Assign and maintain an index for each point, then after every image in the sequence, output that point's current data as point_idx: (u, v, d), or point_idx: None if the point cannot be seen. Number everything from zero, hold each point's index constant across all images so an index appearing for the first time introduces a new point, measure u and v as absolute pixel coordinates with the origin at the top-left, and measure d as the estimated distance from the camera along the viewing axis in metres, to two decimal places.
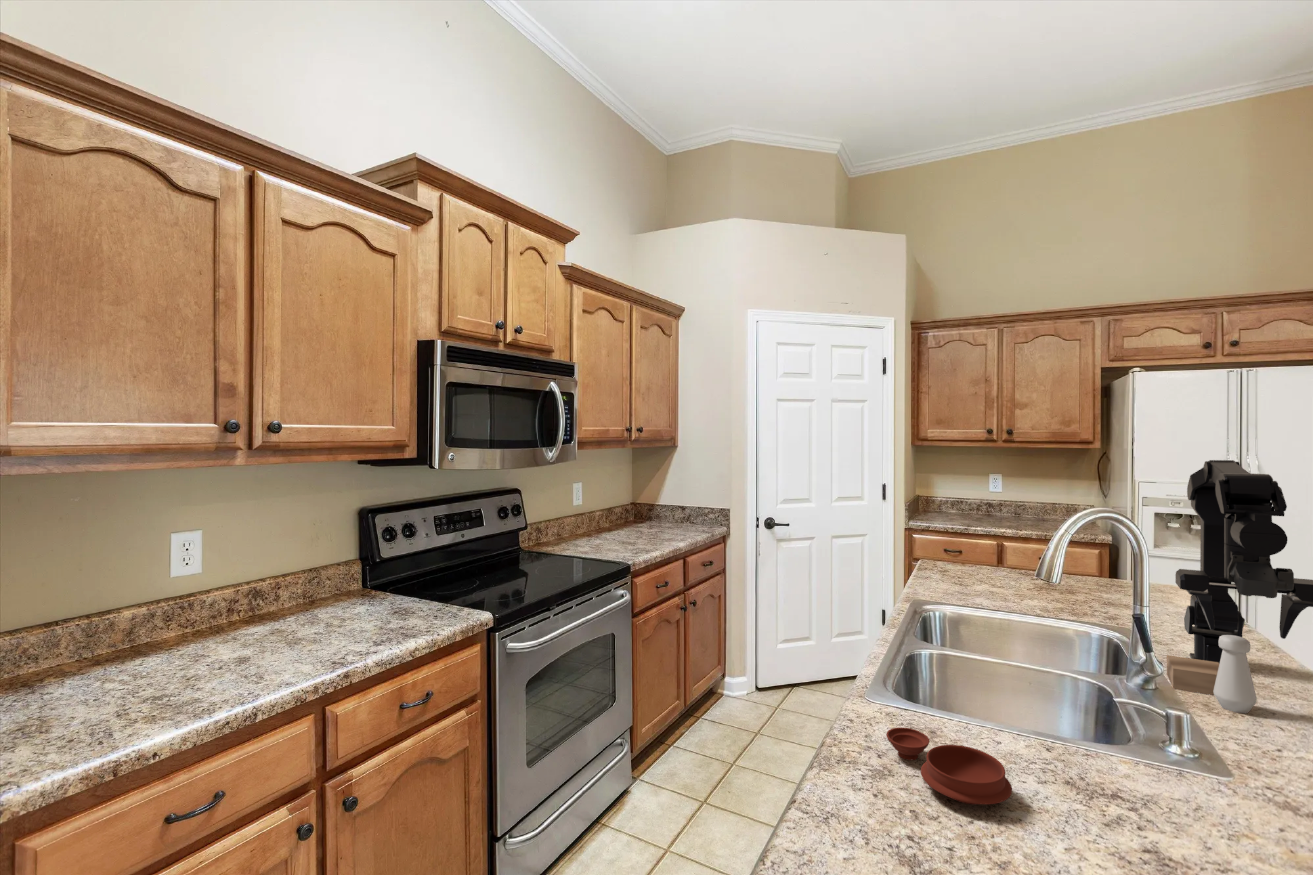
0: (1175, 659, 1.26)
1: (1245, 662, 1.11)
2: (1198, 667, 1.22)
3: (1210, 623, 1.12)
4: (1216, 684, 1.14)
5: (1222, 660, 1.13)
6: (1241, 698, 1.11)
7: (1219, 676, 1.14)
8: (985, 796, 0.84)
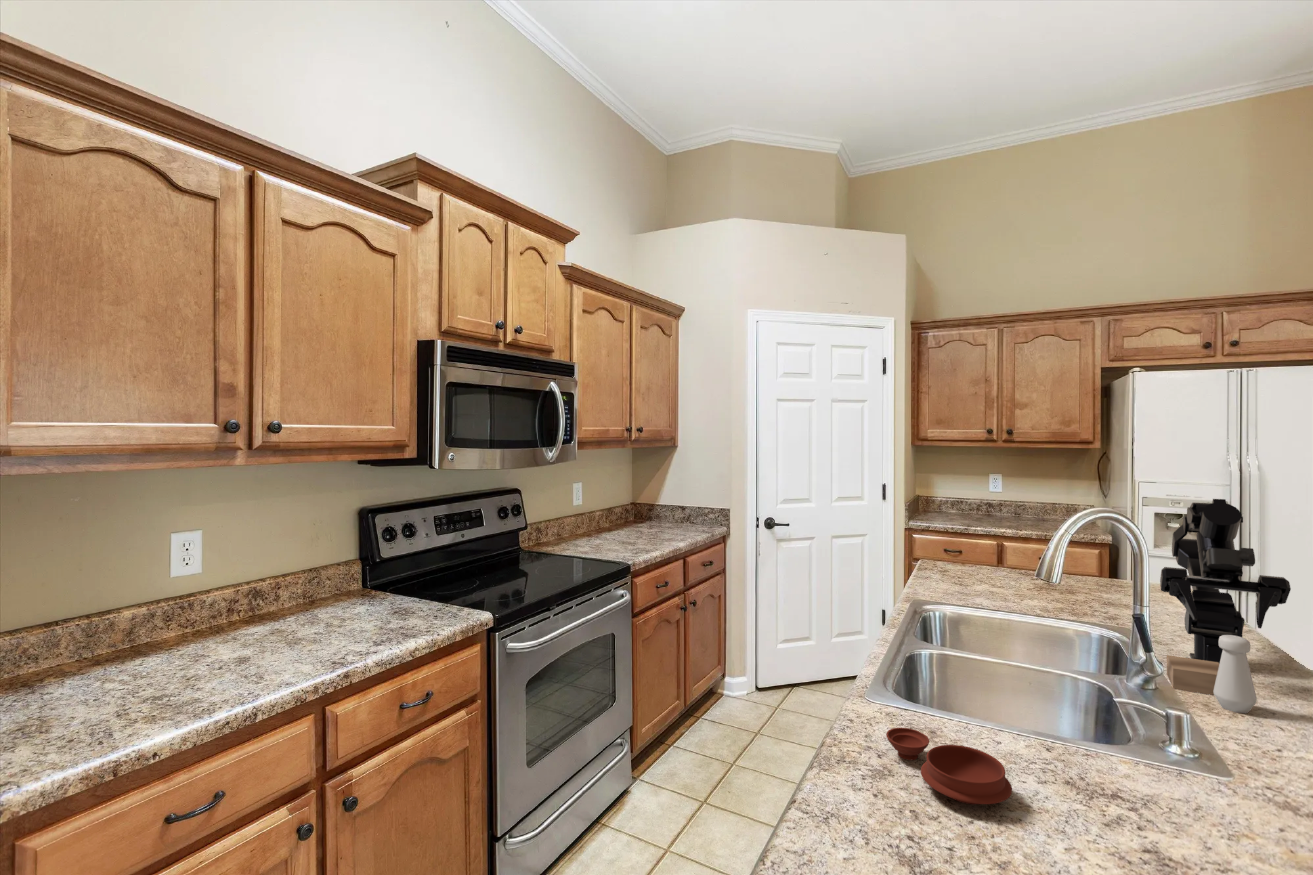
0: (1175, 659, 1.26)
1: (1245, 662, 1.11)
2: (1198, 667, 1.22)
3: (1192, 611, 1.22)
4: (1216, 684, 1.14)
5: (1222, 660, 1.13)
6: (1241, 698, 1.11)
7: (1219, 676, 1.14)
8: (985, 796, 0.84)
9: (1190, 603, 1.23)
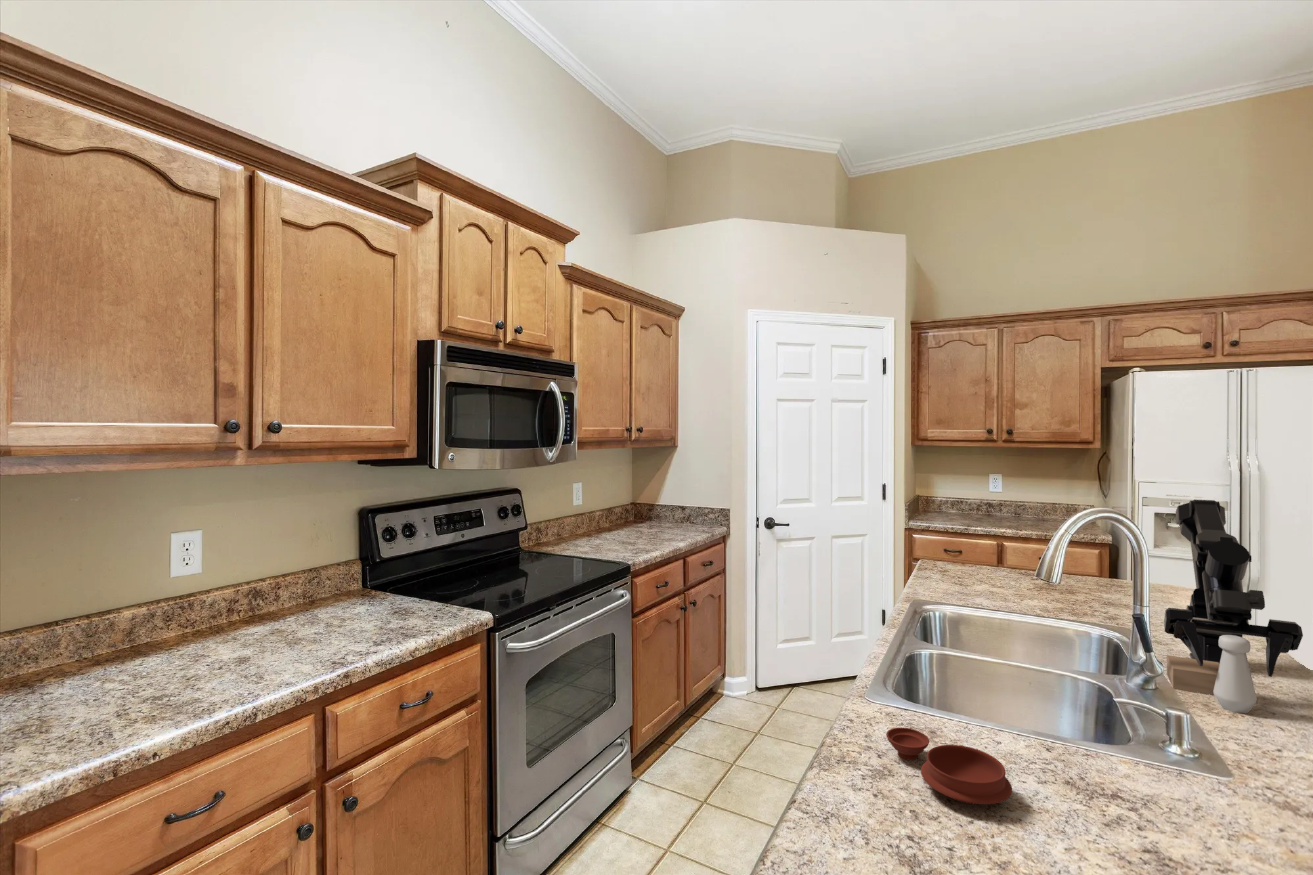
0: (1175, 659, 1.26)
1: (1245, 662, 1.11)
2: (1198, 667, 1.22)
3: (1198, 656, 1.15)
4: (1216, 684, 1.14)
5: (1222, 660, 1.13)
6: (1241, 698, 1.11)
7: (1219, 676, 1.14)
8: (985, 796, 0.84)
9: (1196, 647, 1.16)
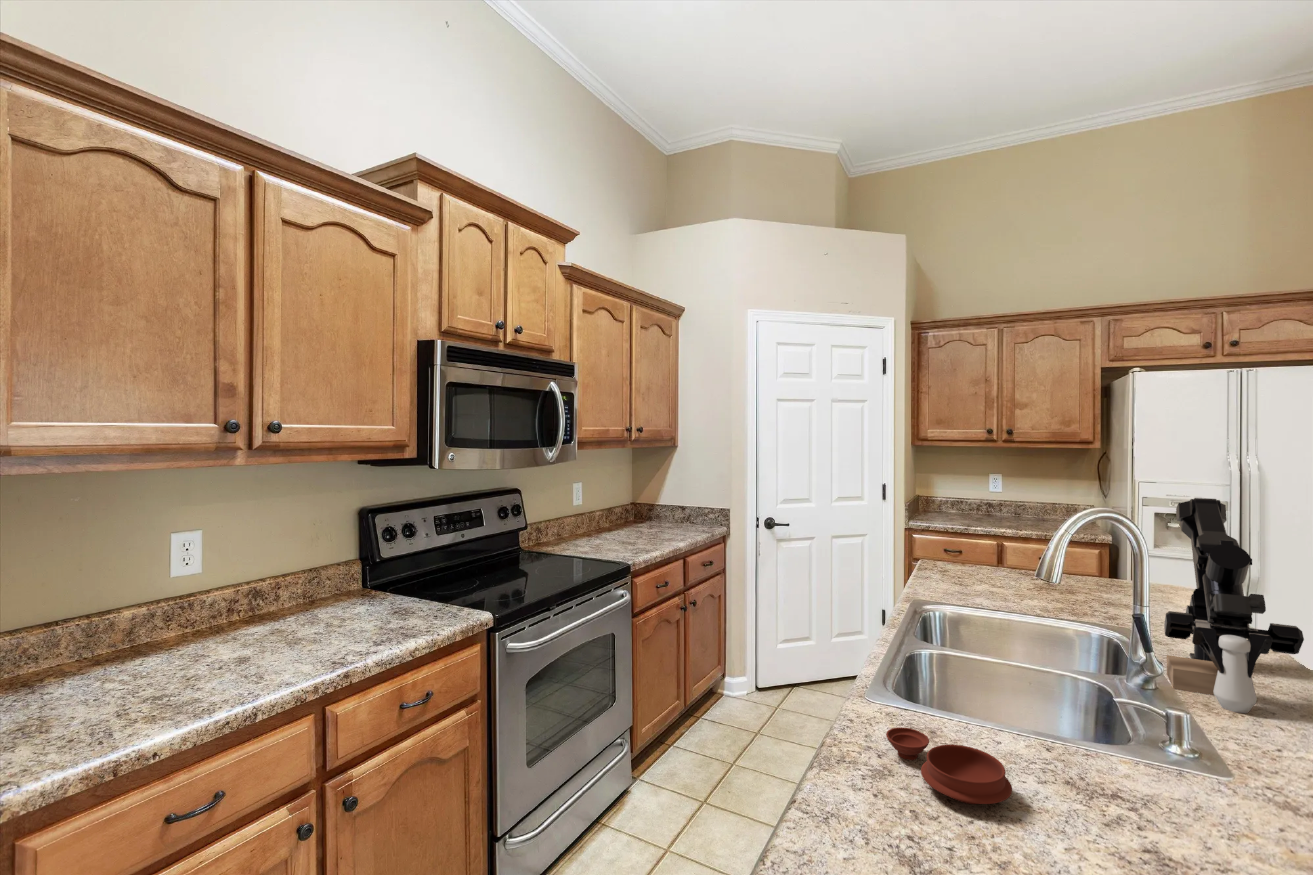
0: (1175, 659, 1.26)
1: (1245, 662, 1.11)
2: (1198, 667, 1.22)
3: (1219, 663, 1.13)
4: (1216, 684, 1.14)
5: (1222, 660, 1.13)
6: (1241, 698, 1.11)
7: (1219, 676, 1.14)
8: (985, 796, 0.84)
9: (1216, 654, 1.14)
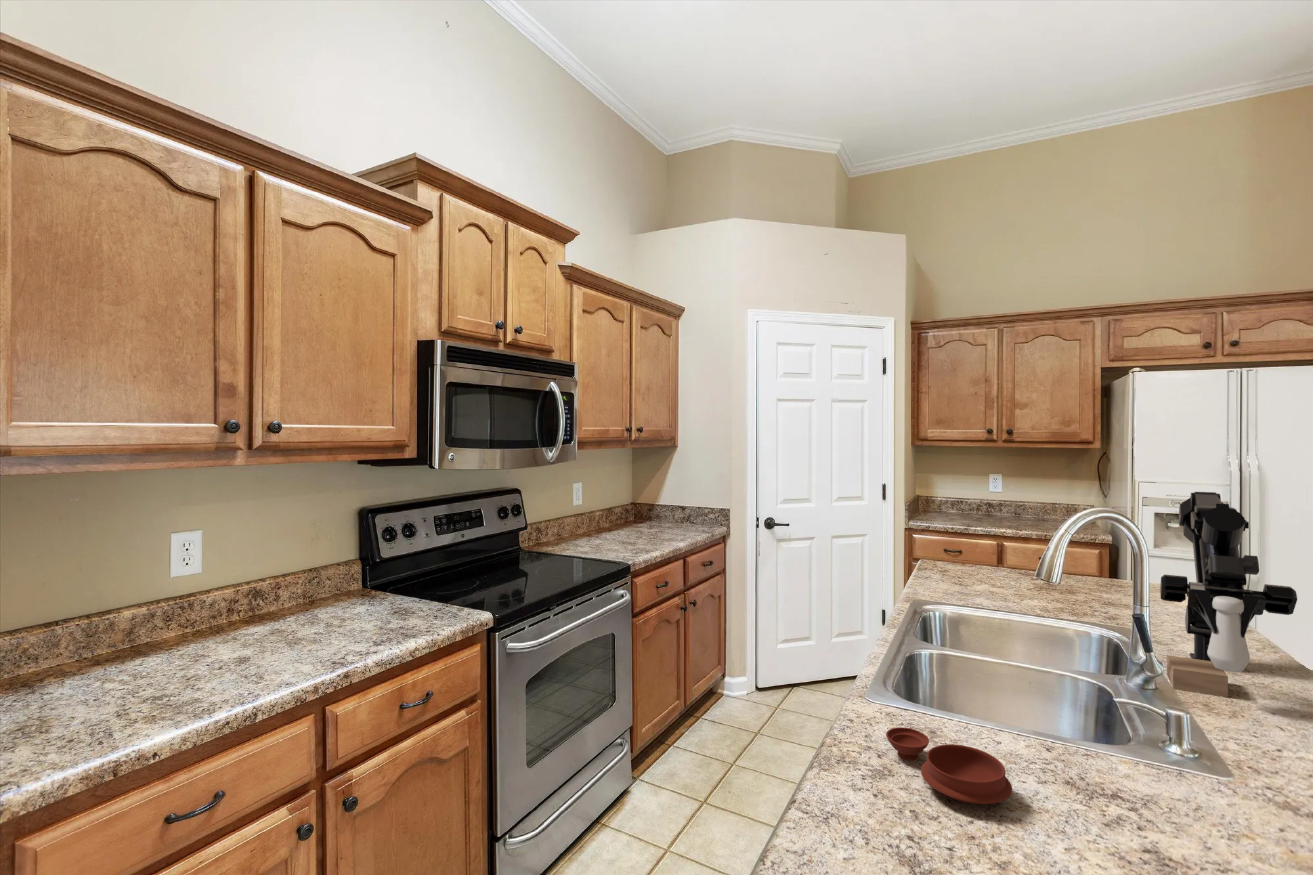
0: (1175, 659, 1.26)
1: (1238, 622, 1.13)
2: (1198, 667, 1.22)
3: (1212, 624, 1.15)
4: (1210, 645, 1.15)
5: (1216, 621, 1.15)
6: (1234, 658, 1.12)
7: (1213, 637, 1.15)
8: (986, 795, 0.84)
9: (1210, 615, 1.16)
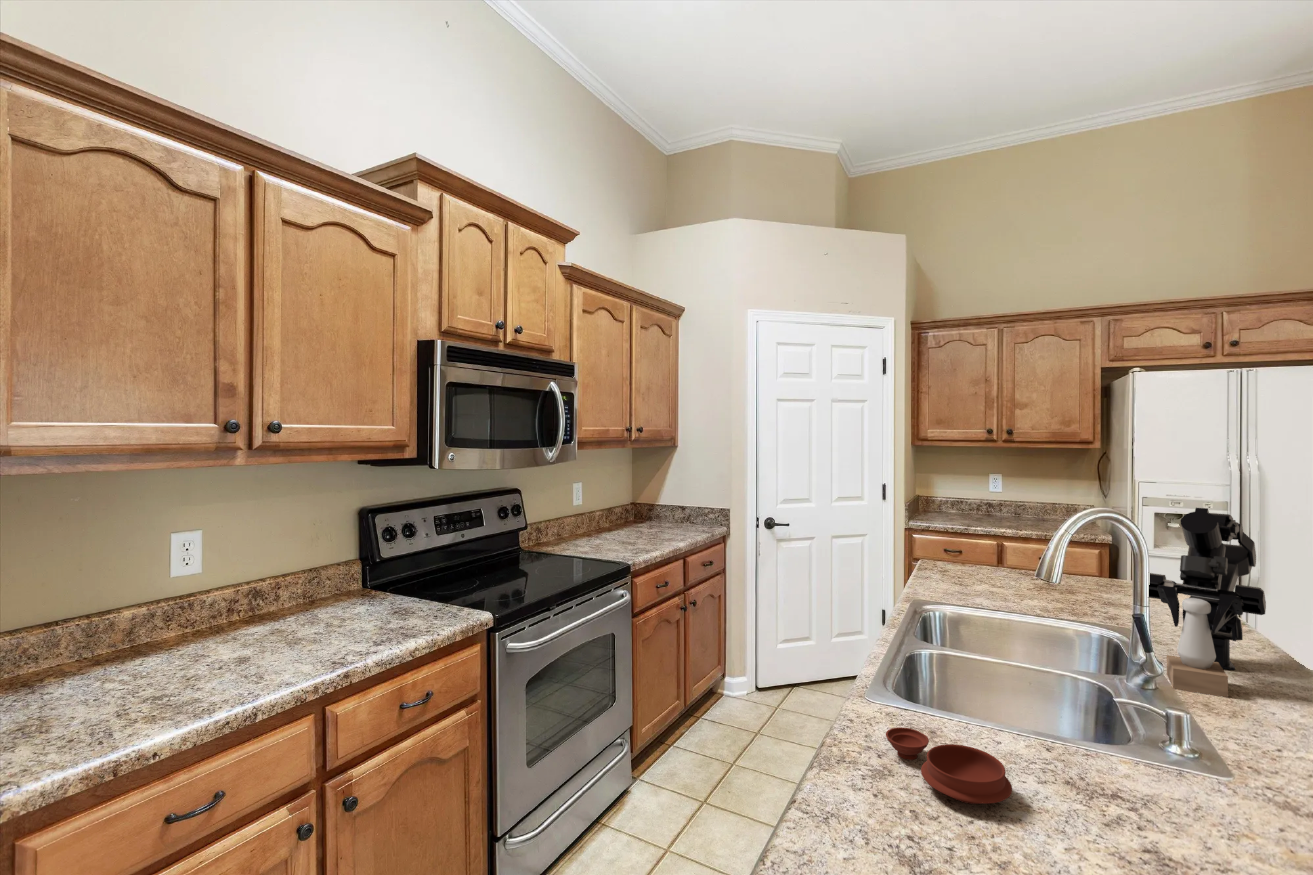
0: (1175, 659, 1.26)
1: (1203, 622, 1.21)
2: None
3: (1173, 617, 1.24)
4: (1179, 642, 1.24)
5: (1184, 620, 1.24)
6: (1196, 655, 1.21)
7: (1181, 635, 1.24)
8: (986, 795, 0.85)
9: (1173, 609, 1.25)
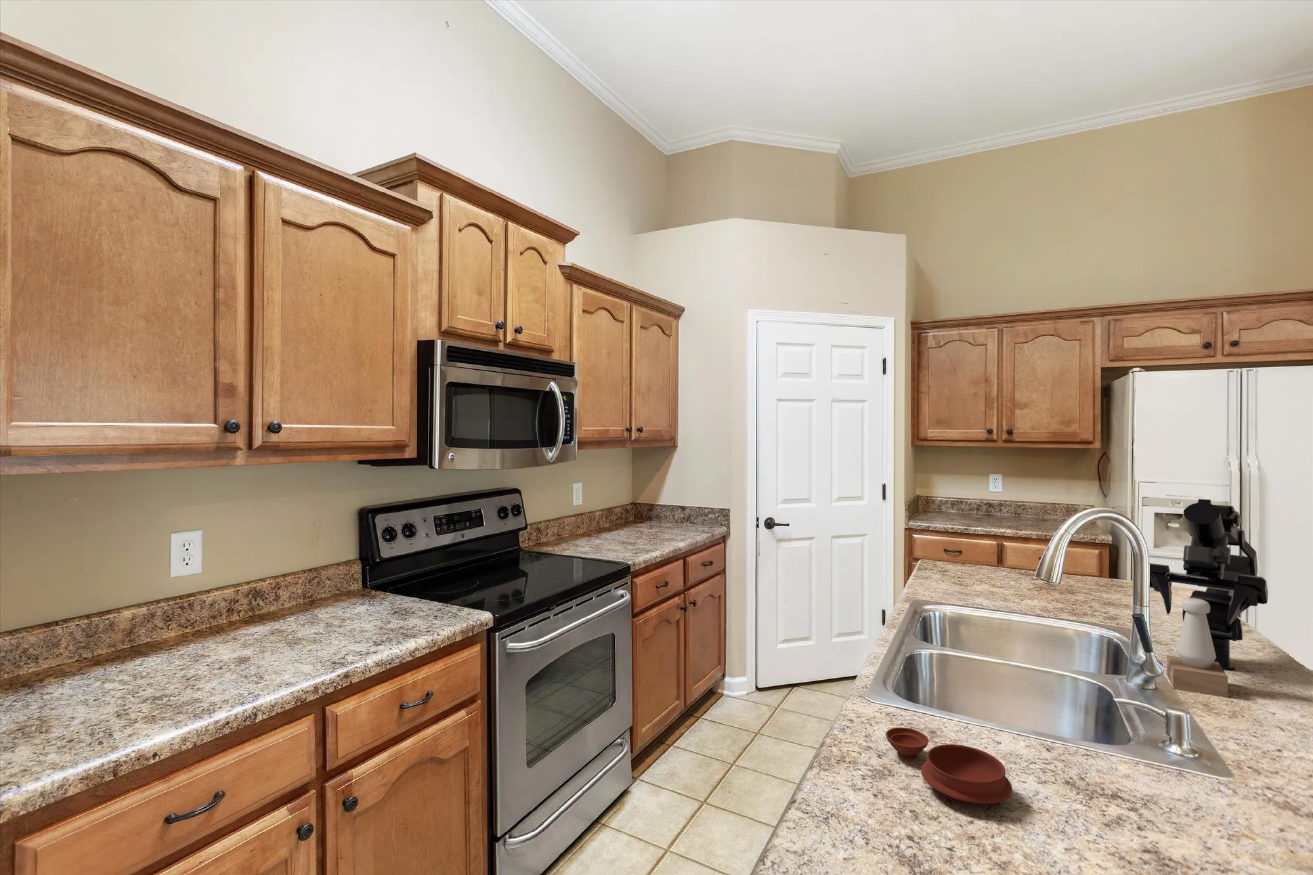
0: (1175, 659, 1.26)
1: (1203, 622, 1.21)
2: None
3: (1166, 605, 1.28)
4: (1178, 642, 1.24)
5: None
6: (1196, 654, 1.21)
7: (1180, 635, 1.24)
8: (986, 795, 0.85)
9: (1165, 597, 1.28)
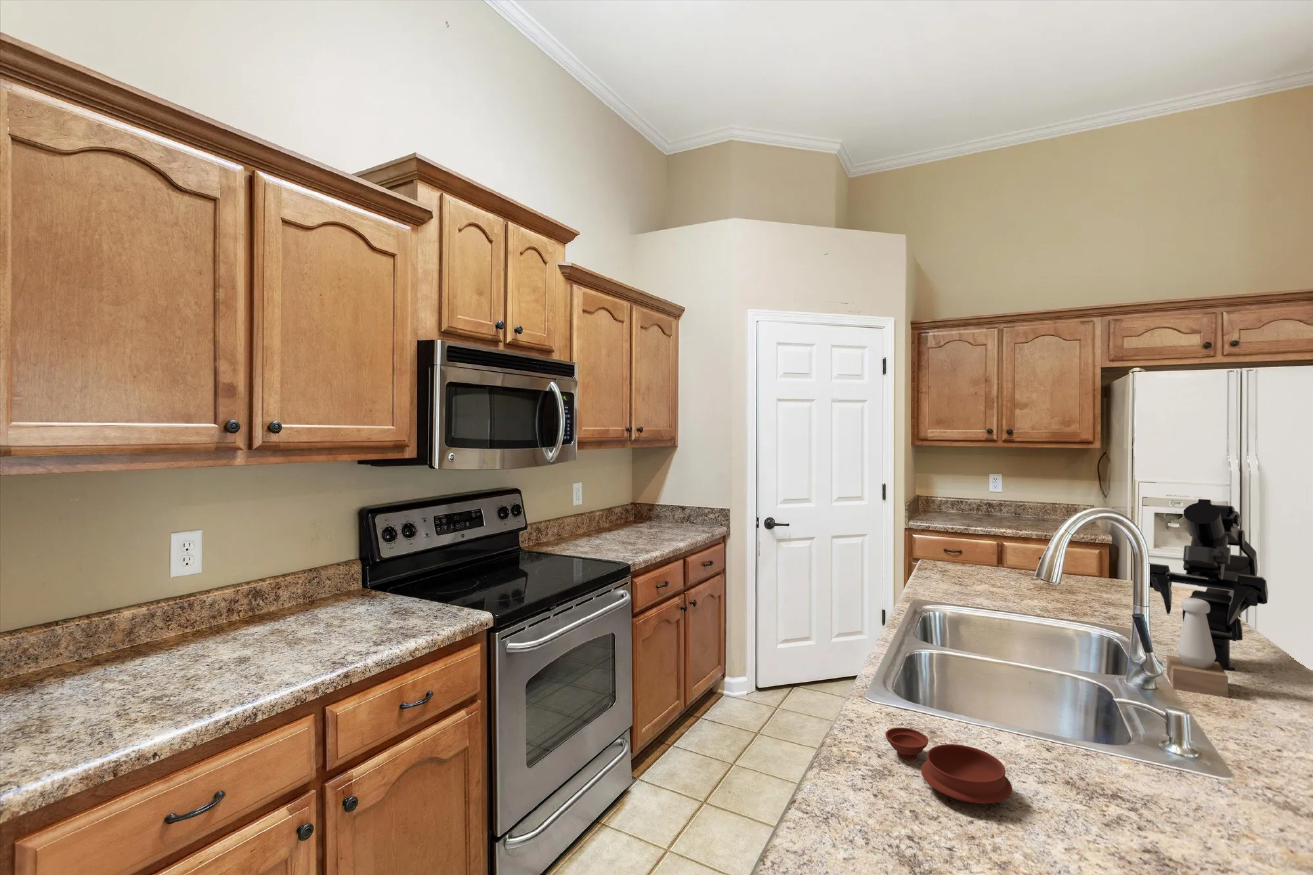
0: (1175, 659, 1.26)
1: (1203, 622, 1.21)
2: None
3: (1166, 605, 1.28)
4: (1178, 642, 1.24)
5: None
6: (1196, 654, 1.21)
7: (1180, 635, 1.24)
8: (986, 795, 0.85)
9: (1165, 597, 1.28)
